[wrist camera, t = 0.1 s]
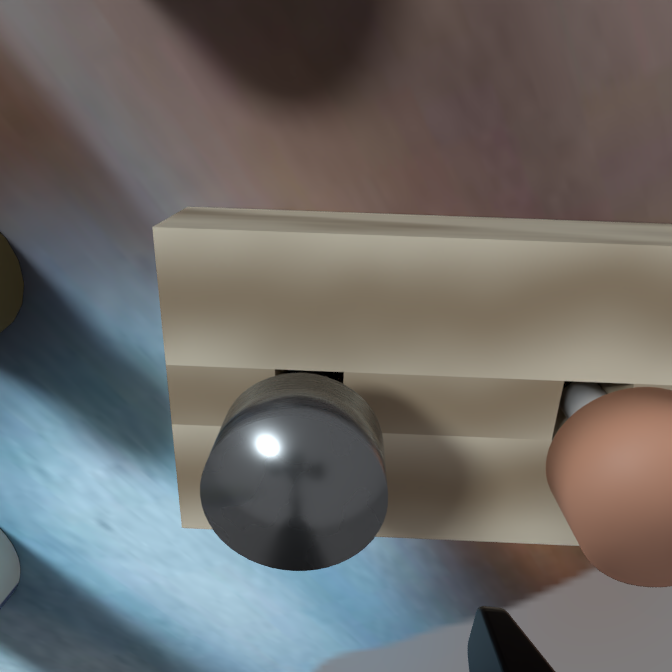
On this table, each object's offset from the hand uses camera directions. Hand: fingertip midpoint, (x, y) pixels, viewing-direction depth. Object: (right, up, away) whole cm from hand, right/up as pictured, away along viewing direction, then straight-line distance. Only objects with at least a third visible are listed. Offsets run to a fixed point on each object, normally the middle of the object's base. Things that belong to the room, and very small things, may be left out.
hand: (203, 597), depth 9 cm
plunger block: (+6, +3, +14) cm, 16 cm away
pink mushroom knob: (+11, +2, +11) cm, 16 cm away
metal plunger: (+1, +2, +11) cm, 12 cm away
